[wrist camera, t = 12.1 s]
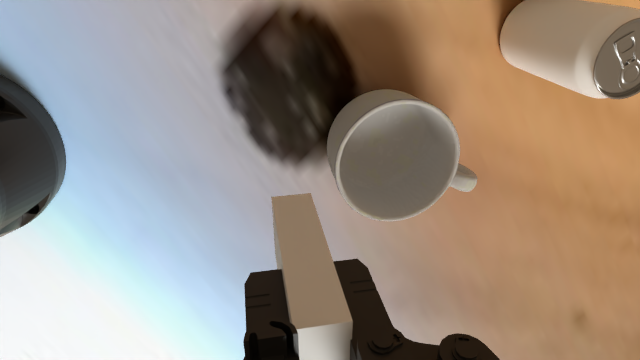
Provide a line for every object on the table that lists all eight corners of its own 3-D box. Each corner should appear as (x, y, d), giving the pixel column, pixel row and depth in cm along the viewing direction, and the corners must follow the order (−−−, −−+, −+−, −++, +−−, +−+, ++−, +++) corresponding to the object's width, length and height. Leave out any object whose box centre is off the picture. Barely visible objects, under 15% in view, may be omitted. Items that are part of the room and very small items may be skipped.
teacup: (298, 152, 42) (310, 192, 35) (360, 54, 39) (387, 76, 32) (407, 207, 47) (437, 251, 40) (470, 124, 44) (514, 157, 37)
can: (508, 80, 42) (598, 121, 32) (487, 20, 39) (579, 45, 29) (569, 43, 41) (681, 73, 31) (552, -20, 38) (671, -11, 28)
